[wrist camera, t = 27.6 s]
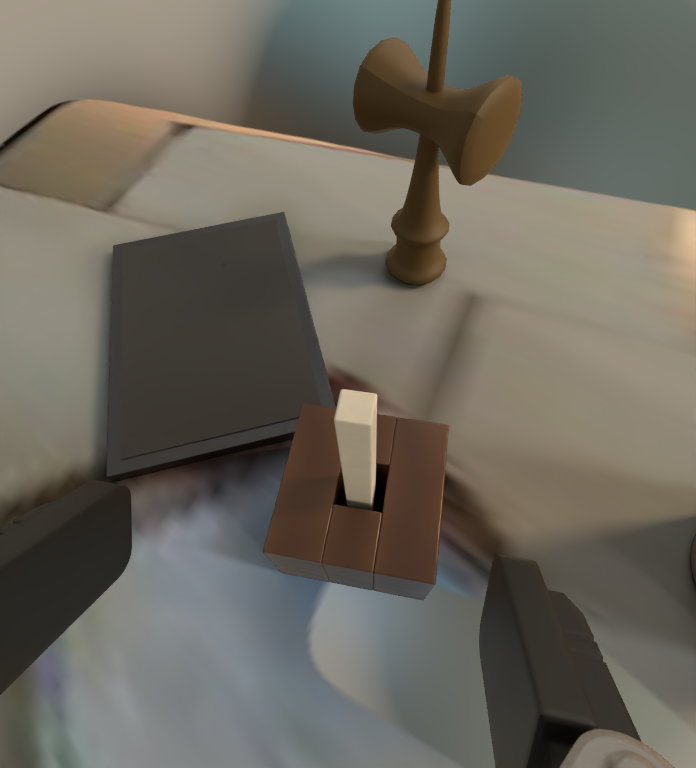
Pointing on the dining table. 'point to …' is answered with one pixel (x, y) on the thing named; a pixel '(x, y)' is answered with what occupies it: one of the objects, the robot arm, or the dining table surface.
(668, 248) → the dining table surface
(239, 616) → the dining table surface
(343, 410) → the stylus
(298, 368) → the tablet
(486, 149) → the kendama
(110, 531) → the robot arm
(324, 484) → the pen stand
